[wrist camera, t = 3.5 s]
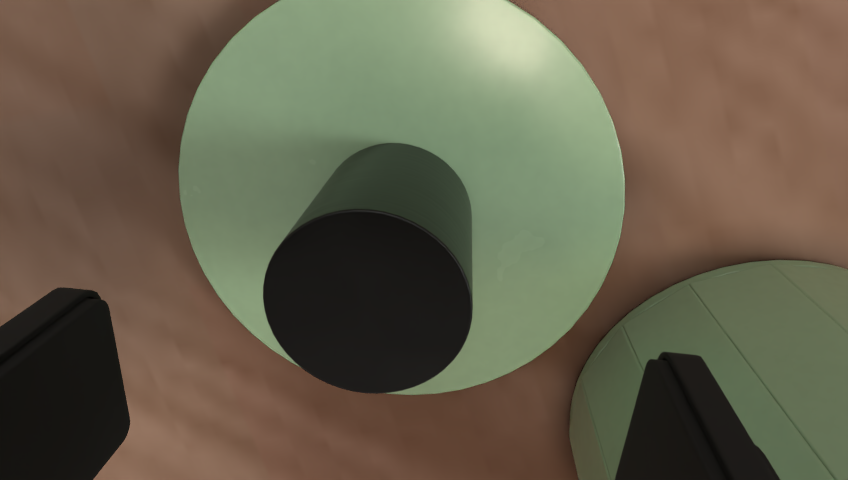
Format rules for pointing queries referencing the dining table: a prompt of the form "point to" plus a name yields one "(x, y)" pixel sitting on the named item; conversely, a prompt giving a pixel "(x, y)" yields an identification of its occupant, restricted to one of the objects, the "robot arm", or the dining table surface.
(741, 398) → the tin
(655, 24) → the dining table surface
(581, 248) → the lid
